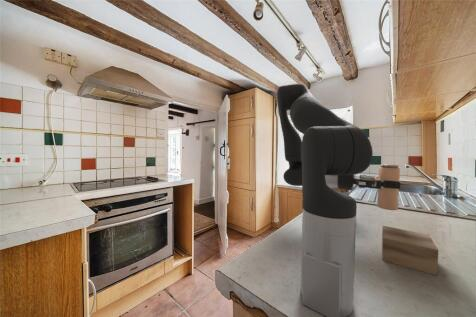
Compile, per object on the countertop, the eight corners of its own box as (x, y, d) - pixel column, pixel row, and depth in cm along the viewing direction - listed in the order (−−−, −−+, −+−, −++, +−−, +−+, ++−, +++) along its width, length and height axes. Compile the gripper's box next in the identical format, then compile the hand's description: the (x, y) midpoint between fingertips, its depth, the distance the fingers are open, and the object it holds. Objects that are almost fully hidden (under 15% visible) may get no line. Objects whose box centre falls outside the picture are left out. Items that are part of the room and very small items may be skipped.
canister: (398, 211, 56) (400, 166, 55) (377, 208, 59) (379, 165, 58) (397, 207, 60) (399, 165, 59) (377, 204, 63) (379, 164, 62)
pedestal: (437, 275, 43) (438, 250, 42) (382, 259, 49) (383, 237, 48) (428, 256, 50) (429, 234, 50) (381, 244, 57) (382, 225, 56)
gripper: (334, 169, 62) (402, 174, 51) (341, 167, 73) (397, 170, 63) (334, 191, 62) (400, 200, 52) (341, 186, 73) (396, 192, 63)
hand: (398, 184), depth 57 cm, fingers closed on canister, 5 cm apart
